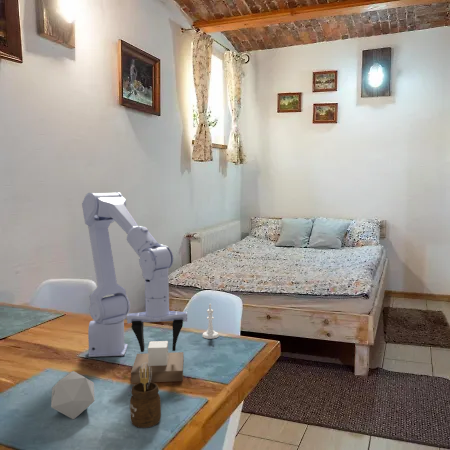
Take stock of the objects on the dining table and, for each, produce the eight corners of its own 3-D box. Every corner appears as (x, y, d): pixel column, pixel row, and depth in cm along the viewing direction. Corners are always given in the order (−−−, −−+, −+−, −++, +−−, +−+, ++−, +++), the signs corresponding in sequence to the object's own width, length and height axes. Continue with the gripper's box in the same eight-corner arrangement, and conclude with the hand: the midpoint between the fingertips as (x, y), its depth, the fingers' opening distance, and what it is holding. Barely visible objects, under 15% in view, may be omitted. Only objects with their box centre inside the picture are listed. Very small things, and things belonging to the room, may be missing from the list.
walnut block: (131, 385, 108) (130, 372, 107) (137, 364, 120) (137, 353, 119) (182, 383, 108) (182, 370, 108) (183, 363, 120) (183, 352, 120)
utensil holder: (160, 412, 94) (159, 355, 93) (161, 428, 87) (160, 367, 86) (131, 414, 93) (129, 357, 92) (129, 431, 86) (127, 369, 85)
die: (68, 402, 99) (41, 377, 94) (103, 382, 100) (77, 355, 95) (68, 434, 92) (38, 408, 87) (105, 412, 93) (77, 385, 88)
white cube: (148, 365, 111) (148, 347, 111) (150, 358, 116) (149, 341, 115) (167, 365, 111) (166, 347, 111) (168, 358, 116) (167, 340, 115)
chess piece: (219, 333, 142) (219, 301, 141) (217, 339, 137) (217, 306, 136) (203, 333, 143) (203, 301, 142) (201, 338, 138) (200, 305, 137)
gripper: (124, 301, 108) (126, 357, 109) (186, 299, 109) (187, 354, 110) (128, 293, 115) (130, 346, 116) (186, 292, 116) (187, 344, 117)
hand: (158, 350), depth 113 cm, fingers open, 7 cm apart
